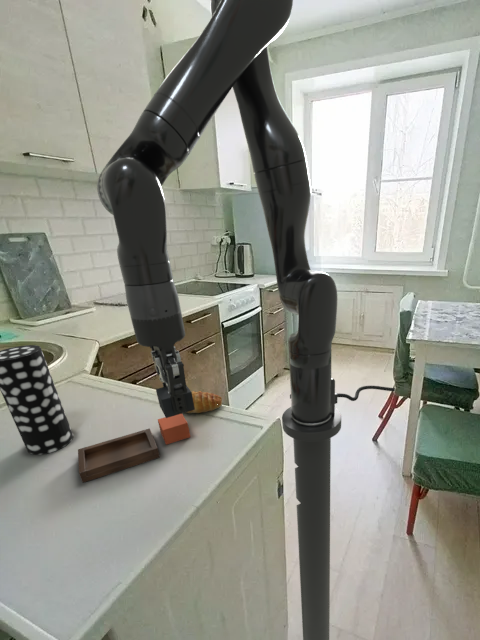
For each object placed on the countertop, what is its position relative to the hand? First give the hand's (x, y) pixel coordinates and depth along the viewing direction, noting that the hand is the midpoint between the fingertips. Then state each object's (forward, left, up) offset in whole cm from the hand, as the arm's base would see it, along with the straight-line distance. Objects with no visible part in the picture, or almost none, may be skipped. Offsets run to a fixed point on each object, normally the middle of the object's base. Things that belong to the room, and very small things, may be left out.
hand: (176, 405), depth 62 cm
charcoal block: (0, 0, 0) cm, 0 cm away
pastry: (-8, -18, -11) cm, 22 cm away
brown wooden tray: (+11, -7, -11) cm, 17 cm away
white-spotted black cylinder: (+23, -21, -11) cm, 33 cm away
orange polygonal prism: (0, -9, -11) cm, 14 cm away
